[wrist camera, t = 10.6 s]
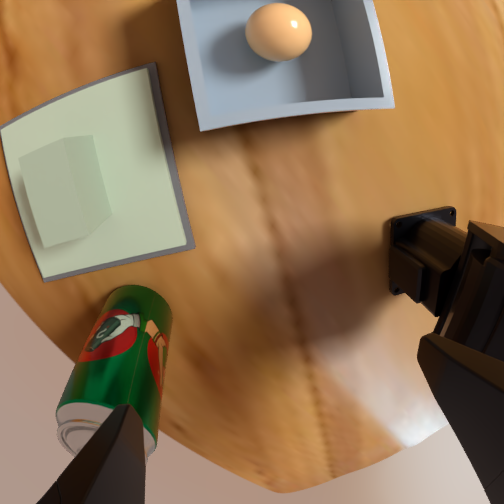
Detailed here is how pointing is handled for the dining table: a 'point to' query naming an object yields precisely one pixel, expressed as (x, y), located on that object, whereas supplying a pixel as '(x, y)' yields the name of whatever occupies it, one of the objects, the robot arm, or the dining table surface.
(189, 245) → the mat
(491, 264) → the robot arm
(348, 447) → the dining table surface
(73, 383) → the soda can
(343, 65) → the grey open box
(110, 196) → the lid
